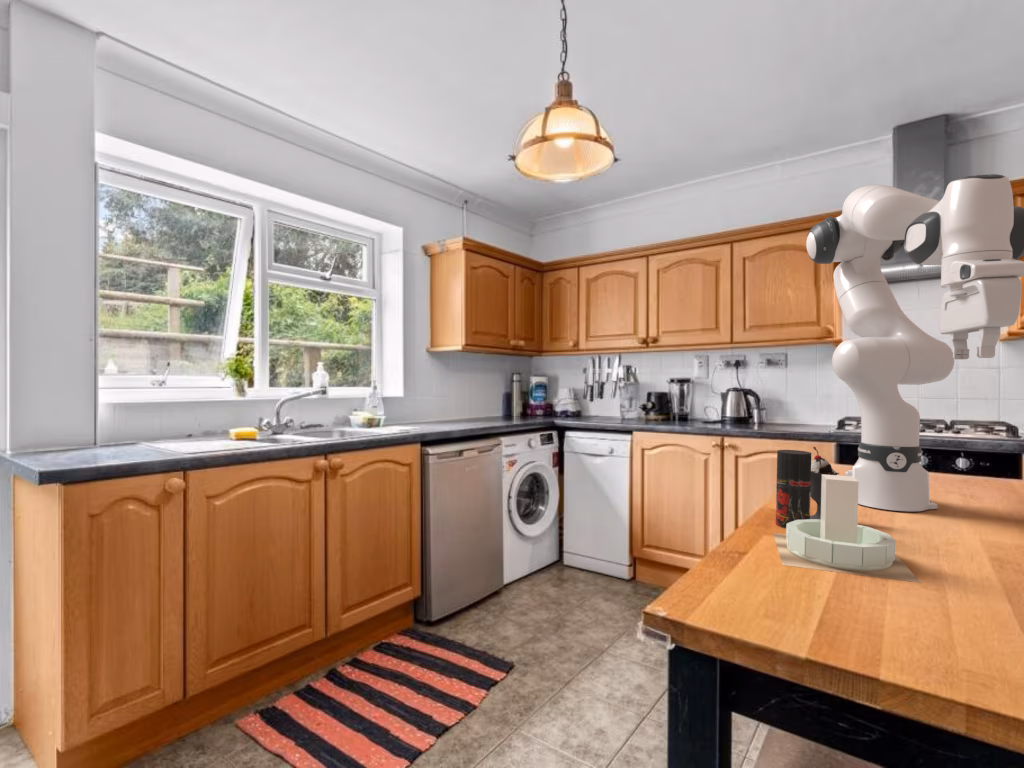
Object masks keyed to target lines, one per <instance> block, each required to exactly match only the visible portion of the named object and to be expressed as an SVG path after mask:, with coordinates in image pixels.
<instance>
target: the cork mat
mask: <svg viewBox="0 0 1024 768" xmlns="http://www.w3.org/2000/svg"><path fill="white" fill-rule="evenodd" d="M772 534H773V538H774V542H775V545H776V548H777V551H778V555H779V558H780V560H781V561H780V562H781V564H782V566H785V567H793V568H800V569H801V568H802V569H810V570H817V571H826V572H834V573H842V574H849V575H856V576H857V575H858V576H863V577H870V578H871V577H873V578H879V579H888V580H896V581H904V582H913V583H918V584H919V583H920V584H922V581H921V580H920V579H919V578H918V577H917V576H916V575H915V574H914V573H913V572H912V571H911V570H910V569H909V567H908V566H907V565H905V563H904V562H903V561H902V560H901V559H900V558H899V557H898V556H897V555H896V554H895V560H894V561H893V565H892V567H891V568H889V569H886V570H882V571H852V570H844V569H837V568H832V567H827V566H823V565H819V564H815V563H812V562H809V561H806V560H803V559H801V558H799V557H796V556H795V555H793V554H792V553H790V552H789V551H788V549H787V542H786V533H778V532H777V533H775V532H774V533H772Z"/></svg>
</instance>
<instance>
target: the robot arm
mask: <svg viewBox="0 0 1024 768" xmlns="http://www.w3.org/2000/svg"><path fill="white" fill-rule="evenodd" d="M841 210H842V211H841V214H840V215H839V216H837V217H835V216H834V217H831V215H830V216H827V217H826V218H825V219H824V220H823V221H820V222H818V223H816V224H815V225H813V226H812V228H810V230H809V231H808V233H807V236H806V244H805V246H806V247H805V248H806V250H807V254H808V257H809V258H810V260H811V261H812V262H813V263H814V264H819V265H820V264H821V265H828V264H829V265H830V264H832V263H839V262H840V263H839V264H838V265H837V266H836V267H835V269H834V271H833V274H832V275H833V276H832V278H833V286H834V291H835V295H836V298H837V301H838V304H839V307H840V310H841V312H842V314H843V317H844V320H845V323H846V324H847V327H848V328H849V330H850V331H851V332H852V333H853V334H855V335H857V336H859V337H857V338H852V339H847V340H844V341H842V342H840V343H839V344H837V345H838V346H836V348H835V350H834V351H833V353H832V358H831V365H832V369H833V371H834V373H835V375H836V377H838V379H840V380H841V381H843V382H844V383H845V384H846V385H847V386H848V388H850V389H851V391H852V392H853V393H854V396H855V398H856V400H857V402H858V406H859V409H860V420H861V421H860V423H861V425H860V427H861V430H860V431H861V432H860V433H861V439H860V441H859V444H858V447H857V456H858V459H857V460H856V462H855V463H854V465H853V466H852V469H848V471H844V476H852V477H854V478H855V479H856V480H857V481H858V505H862V506H864V507H870V508H874V509H881V510H888V511H895V512H896V511H898V512H923V511H927V510H938V509H939V508H938V503H935V502H933V501H930V500H931V499H930V496H931V495H930V478H929V471H928V470H927V469H925V468H924V467H923V466H922V465H921V462H922V456H923V452H922V446H921V445H920V428H921V427H920V424H921V423H920V422H921V421H920V420H921V416H920V412H919V411H918V409H917V408H916V407H915V405H914V406H913V405H912V404H910V403H909V402H906V401H905V400H904V399H903V397H902V396H901V393H900V392H899V388H898V386H899V385H906V386H907V385H910V386H911V385H914V386H915V385H916V386H917V385H918V386H920V385H925V384H931V383H936V382H941V381H943V380H945V379H947V378H948V377H949V375H950V374H952V371H953V369H954V366H955V360H968V359H969V358H970V348H969V347H968V341H967V340H969V333H976V332H979V336H980V339H979V345H978V346H976V357H977V358H979V359H993V358H994V357H995V356H996V346H997V344H998V341H999V339H1000V336H1001V328H1005V327H1010V326H1011V327H1012V326H1015V324H1016V322H1017V320H1018V318H1019V315H1020V308H1021V301H1022V289H1023V288H1022V281H1021V278H1022V277H1024V261H1023V260H1019V259H1021V258H1022V257H1023V256H1024V208H1023V207H1022V206H1016V205H1015V206H1014V195H1013V189H1012V184H1011V182H1010V179H1009V177H1007V176H1005V175H1003V174H996V173H995V174H994V173H992V174H991V173H990V174H977V175H969V176H962V177H959V178H956V179H954V180H952V181H950V182H949V183H948V184H947V186H946V189H945V192H944V195H943V197H942V198H941V199H940V200H938V199H935V198H930V197H927V196H924V195H923V196H922V195H921V194H916V193H913V192H911V191H908V190H904V189H902V188H897V187H894V186H891V185H885V184H869V185H865V186H860V187H858V188H857V189H854V191H851V192H850V193H849V194H848V196H847V197H846V198H845V200H844V202H843V205H842V209H841ZM903 247H904V251H905V254H906V255H907V257H908V258H909V259H910V260H911V261H912V262H913V263H914V264H917V265H923V266H941V269H940V271H941V273H940V287H941V288H943V289H949V290H948V291H946V292H945V293H944V294H943V295H942V296H941V301H940V302H941V303H940V308H939V309H940V310H939V320H938V329H939V333H940V334H941V335H949V336H950V337H949V340H950V341H949V342H950V343H951V347H952V348H951V347H950V346H949V345H948V344H947V343H946V342H944V341H942V340H939V339H937V338H935V337H933V336H931V334H928V333H926V332H925V331H924V330H923V329H921V328H920V327H919V326H918V325H916V324H915V323H914V322H913V321H912V320H911V319H910V318H909V317H908V316H907V315H906V314H905V313H904V311H903V310H902V309H901V307H900V305H899V302H898V301H897V299H896V298H895V296H894V294H893V291H892V290H891V287H890V285H889V283H888V281H887V278H886V277H885V275H884V274H883V272H882V269H881V261H882V260H884V261H890V260H892V259H893V258H894V257H895V256H894V255H895V253H897V252H899V251H900V250H901V249H902V248H903Z"/></svg>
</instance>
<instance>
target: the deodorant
mask: <svg viewBox="0 0 1024 768" xmlns="http://www.w3.org/2000/svg"><path fill="white" fill-rule="evenodd" d="M811 463H812V452H810V451H805V450H797V449H777V451H776V490H775V491H776V497H775V525H776V526H777V527H780V528H782V529H785V530H786V524H787V523H789V522H792V521H795V520H805V519H810V516H811V497H810V493H811Z"/></svg>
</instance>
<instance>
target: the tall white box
mask: <svg viewBox="0 0 1024 768" xmlns="http://www.w3.org/2000/svg"><path fill="white" fill-rule="evenodd" d="M858 508H859V504H858V481H857V480H856V479H855V478H854V477H852V476H845V475H839V474H837V475H825V474H822V484H821V525H820V538H822V539H827V540H831V541H837V542H846V543H855V544H857V525H858V518H859V517H858V512H859V511H858Z"/></svg>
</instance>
